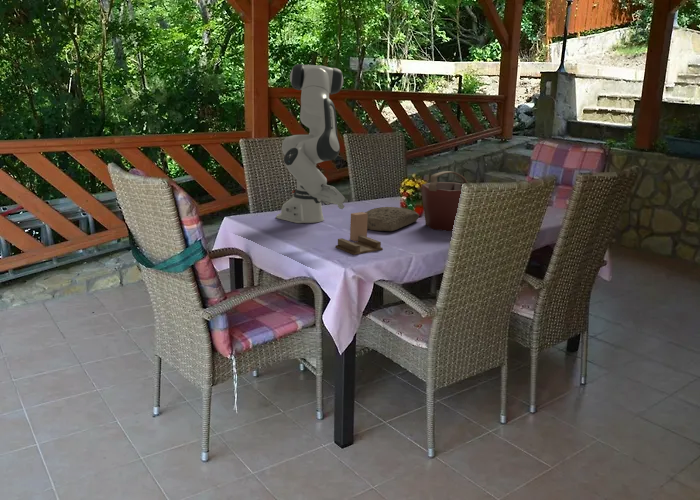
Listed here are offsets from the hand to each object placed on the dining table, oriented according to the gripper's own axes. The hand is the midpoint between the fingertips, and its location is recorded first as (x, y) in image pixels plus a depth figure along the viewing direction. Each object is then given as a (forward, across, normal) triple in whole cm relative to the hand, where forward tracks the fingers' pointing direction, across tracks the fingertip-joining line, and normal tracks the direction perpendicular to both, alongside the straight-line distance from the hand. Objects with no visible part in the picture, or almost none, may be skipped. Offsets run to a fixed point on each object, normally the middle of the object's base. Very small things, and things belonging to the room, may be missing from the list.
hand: (335, 205), depth 250 cm
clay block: (+19, 0, +3) cm, 20 cm away
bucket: (+54, 0, -32) cm, 62 cm away
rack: (+14, -11, +8) cm, 20 cm away
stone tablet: (+39, +15, -16) cm, 45 cm away
